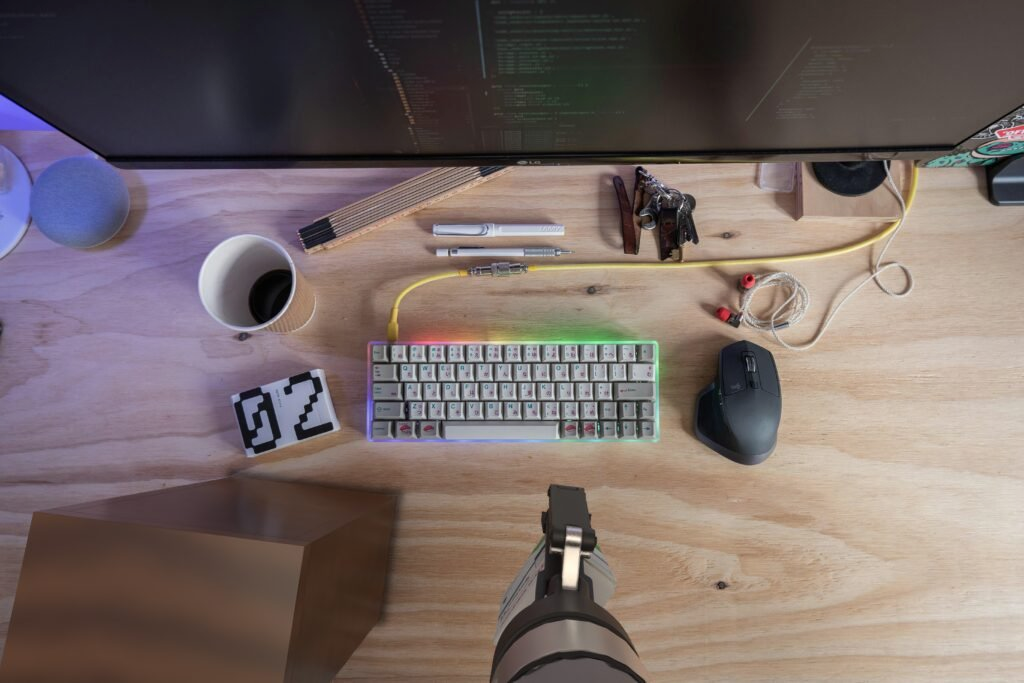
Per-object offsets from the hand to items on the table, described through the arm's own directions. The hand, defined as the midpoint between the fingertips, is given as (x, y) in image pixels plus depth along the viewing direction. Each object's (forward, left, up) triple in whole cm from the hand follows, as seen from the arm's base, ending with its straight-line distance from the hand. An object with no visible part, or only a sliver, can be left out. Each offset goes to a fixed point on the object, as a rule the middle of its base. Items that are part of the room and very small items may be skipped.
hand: (551, 581), depth 49 cm
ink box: (0, 0, -3) cm, 3 cm away
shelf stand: (-5, +28, -21) cm, 35 cm away
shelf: (-5, +28, +7) cm, 29 cm away
